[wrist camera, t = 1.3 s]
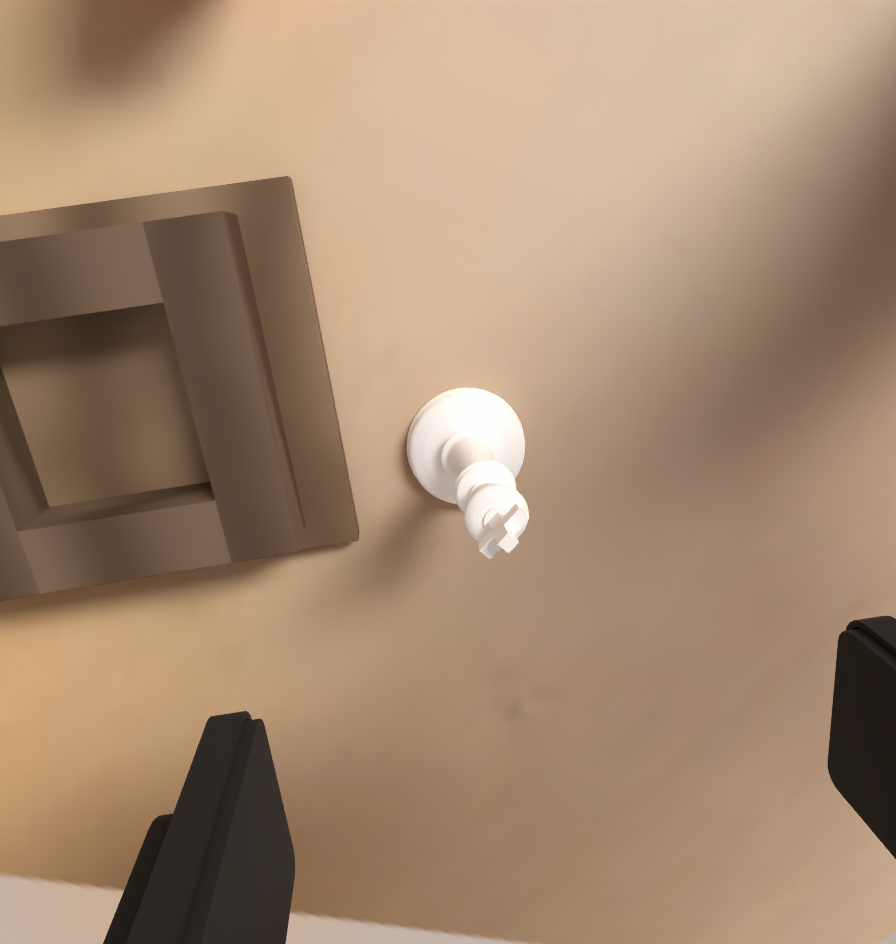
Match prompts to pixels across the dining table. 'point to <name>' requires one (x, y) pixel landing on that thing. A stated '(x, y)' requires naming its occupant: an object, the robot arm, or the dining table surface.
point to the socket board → (162, 390)
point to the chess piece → (473, 462)
